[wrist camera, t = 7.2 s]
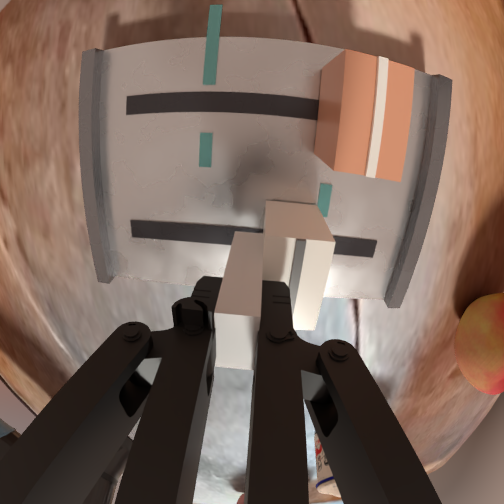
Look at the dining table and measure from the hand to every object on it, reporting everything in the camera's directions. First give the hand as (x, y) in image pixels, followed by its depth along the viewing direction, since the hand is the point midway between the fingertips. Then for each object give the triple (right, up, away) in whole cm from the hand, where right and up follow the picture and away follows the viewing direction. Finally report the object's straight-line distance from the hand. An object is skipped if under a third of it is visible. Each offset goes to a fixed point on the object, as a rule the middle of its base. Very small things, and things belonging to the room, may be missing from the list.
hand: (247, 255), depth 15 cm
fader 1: (+2, +1, +2) cm, 3 cm away
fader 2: (+5, +8, -2) cm, 10 cm away
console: (+1, +6, +3) cm, 6 cm away
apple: (+24, -6, +8) cm, 26 cm away
